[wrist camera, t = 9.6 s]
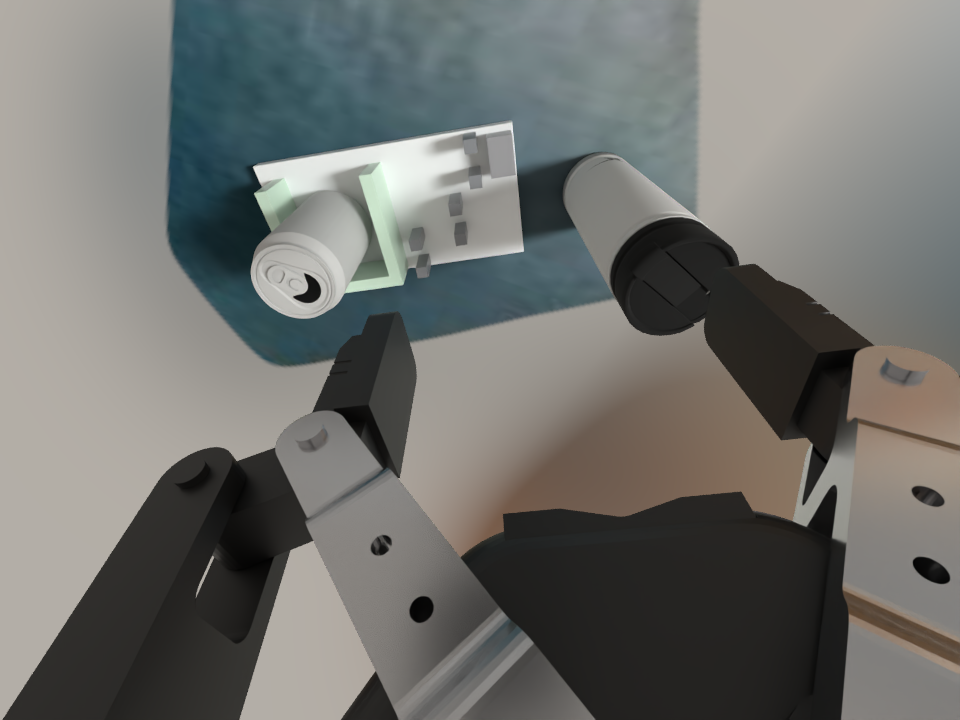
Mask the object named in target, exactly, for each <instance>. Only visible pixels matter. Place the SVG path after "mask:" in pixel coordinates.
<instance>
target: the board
mask: <svg viewBox="0 0 960 720" xmlns="http://www.w3.org/2000/svg"><path fill="white" fill-rule="evenodd" d="M377 162H381V165H382V169H383V173H384V176H385V180H386V184H387V187H388V191H389V195H390V198H391V202H392V206H393V210H394V213H395V217H396V221H397V224H398V228H399V232H400V235H401V239H402V243H403V246H404V250H405V254H406V257H407V261H408V265H409V267H408V268H414V267H416V272H417V276H418V278H424V277H429V273H430V268H431V265H435V264H442V263H449V262H455V261H462V260H469V259H476V258H483V257H490V256H497V255H503V254H510V253H517V252H524V248H523V237H522V226H521V215H520V204H519V193H518V181H517V170H516V159H515V148H514V137H513V126H512V121H511V120H509V121H503V122H497V123H491V124H485V125H479V126H474V127H468V128H462V129H456V130H450V131H444V132H439V133H433V134H427V135H421V136H415V137H410V138H404V139H398V140H392V141H386V142H380V143H375V144H369V145H363V146H357V147H351V148H345V149H340V150H334V151H328V152H322V153H316V154H310V155H305V156H299V157H293V158H287V159H281V160H275V161H270V162H264V163H258V164H257V165H255V166H253V168H254V171H255V173H256V175H257V177H258V180H259V182H260V184H261V186H262V187H264V186H265V185H267V184H268V183H269V182H271V181H272V180H275V179H281V178H285V181H286V183H287V185H288V188H289V190H290V193H291V195H292V198H293V200H294V203H295V205H296V207H297V208H298V207H299V206H300V205H301V204H302V203H304V202H305V201H306V200H307V199H308V198H309V197H310V196H312V195H313V194H315V193H318V192H321V191H336V192H340V193H343V194H346V195H348V196H350V197H351V198H353V199H354V200H356V201H357V202H358V203H359V204H360V205H361V206H362V207H363V209H364V210H365V211H366V213H367V215H368V217H369V219H370V222H371V226H372V239H371V242H370V245H369V247H368V249H367V251H366V253H365V255H364V257H363V258H362V260H361V262H360V263H364V262H371V261H378V260H384V257H383V254H382V250H381V247H380V244H379V241H378V237H377V234H376V231H375V228H374V224H373V221H372V218H371V215H370V211H369V208H368V205H367V202H366V198H365V195H364V192H363V189H362V185H361V182H360V179H359V175H360V174H361V173H362V171H363V170H364V169H365V168H366V167H367V166H368V164H371V163H377Z"/></svg>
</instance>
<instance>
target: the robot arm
mask: <svg viewBox="0 0 960 720" xmlns="http://www.w3.org/2000/svg"><path fill="white" fill-rule="evenodd" d="M704 333H705V338H706V341H707V343H708V345H709V346H710V348H711V349H712V350H713V352H714V353H715V355H716V356H717V357H718V359H719V360H720V361H721V362H722V364H723V365H724V366H725V367H726V369H727V370H728V372H729V373H730V374H731V375H732V377H733V378H734V379H735V381H736V382H737V383H738V385H739V386H740V387H741V389H742V390H743V391H744V392H745V394H746V395H747V396H748V398H749V399H750V400H751V402H752V403H753V404H754V405H755V407H756V408H757V409H758V411H759V412H760V413H761V415H762V416H763V417H764V418H765V420H766V421H767V422H768V424H769V425H770V426H771V427H772V429H773V430H774V432H775V433H776V434H777V435H778V437H779V438H780V439H781V440H788V439H798V438H808V439H809V441H810V442H811V445H810V447H809V449H808V451H807V454H806V458H805V463H804V468H803V474H802V478H801V483H800V489H799V494H798V499H797V504H796V509H795V514H794V518H793V521H791V520H788V519H785V518H781V517H778V516H775V515H771V514H767V513H762V512H758V511H752V509H751V507H750V506H749V504H748V502H747V501H746V499H745V497H744V496H743V494H742V492H732V493H721V494H711V495H700V496H690V497H681V498H678V499H675V500H672V501H669V502H666V503H663V504H661V505H658V506H655V507H652V508H649V509H647V510H644V511H641V512H638V513H635V514H632V515H630V516H625V517H616V516H609V515H602V514H595V513H588V512H580V511H573V510H566V509H551V510H540V511H530V512H520V513H508V514H503V519H504V532H501V533H499V534H496V535H494V536H492V537H490V538H488V539H486V540H484V541H482V542H480V543H479V544H477V545H476V546H474V547H473V548H471V549H470V550H469V551H467V552H466V553H465V554H464V555H463V556H461V557H459V556H458V554H457V553H456V552H455V551H454V549H453V548H452V546H451V545H450V544H449V543H448V541H447V540H446V539H445V538H444V536H443V535H442V534H441V532H440V531H439V530H438V529H437V527H436V526H435V525H434V524H433V522H432V521H431V520H430V519H429V517H428V516H427V515H426V514H425V512H424V511H423V510H422V509H421V507H420V506H419V505H418V503H417V502H416V501H415V500H414V498H413V497H412V496H411V494H410V493H409V492H408V491H407V489H406V488H405V487H404V486H403V484H402V483H401V482H400V480H399V479H398V478H400V473H401V468H402V462H403V456H404V450H405V444H406V438H407V432H408V427H409V421H410V415H411V409H412V403H413V396H414V391H415V385H416V364H415V360H414V356H413V353H412V349H411V346H410V343H409V339H408V336H407V333H406V330H405V326H404V323H403V320H402V317H401V315H400V313H399V312H398V311H396V312H388V313H381V314H374V315H369V317H368V319H367V322H366V324H365V327H364V329H363V332H362V335H357V336H352V337H351V338H350V339H349V340H348V341H347V342H346V343H345V344H344V345H343V346H342V347H341V348H340V350H339V352H338V354H337V357H336V359H335V361H334V363H335V364H334V365H333V366H332V369H331V370H330V376H328V377H327V380H326V382H325V384H324V387H323V389H322V391H321V394H320V396H319V398H318V400H317V403H316V405H315V407H314V410H313V412H312V413H310V414H308V415H305V416H303V417H301V418H300V419H298V420H296V421H294V422H293V423H292V424H290V425H289V426H288V427H287V428H286V429H285V430H284V431H283V432H282V434H281V435H280V436H279V438H278V440H277V442H276V446H275V448H273V449H270V450H267V451H265V452H262V453H259V454H256V455H253V456H251V457H248V458H245V459H242V460H239V461H236V460H235V458H234V457H233V456H232V454H231V453H230V452H229V451H228V450H226V449H224V448H219V447H214V448H207V449H203V450H200V451H197V452H195V453H193V454H190V455H188V456H187V457H185V458H183V459H182V460H180V461H179V462H177V463H176V464H175V465H173V466H172V467H171V468H170V469H169V470H168V471H166V473H165V474H164V475H163V476H162V477H161V478H160V480H159V481H158V483H157V484H156V486H155V487H154V489H153V490H152V492H151V493H150V495H149V497H148V498H147V499H146V501H145V502H144V504H143V506H142V507H141V509H140V510H139V512H138V513H137V515H136V516H135V518H134V519H133V521H132V523H131V524H130V526H129V527H128V529H127V530H126V532H125V533H124V535H123V536H122V538H121V539H120V541H119V542H118V544H117V545H116V547H115V548H114V550H113V551H112V553H111V554H110V556H109V558H108V559H107V561H106V562H105V564H104V565H103V567H102V568H101V570H100V571H99V573H98V574H97V576H96V577H95V579H94V581H93V582H92V584H91V585H90V587H89V588H88V590H87V591H86V593H85V594H84V596H83V597H82V599H81V600H80V602H79V603H78V605H77V606H76V608H75V610H74V611H73V613H72V614H71V616H70V617H69V619H68V620H67V622H66V624H65V625H64V627H63V628H62V630H61V631H60V633H59V634H58V636H57V637H56V639H55V640H54V642H53V643H52V645H51V646H50V648H49V649H48V651H47V652H46V654H45V656H44V657H43V659H42V660H41V662H40V663H39V665H38V666H37V668H36V669H35V671H34V672H33V674H32V675H31V677H30V678H29V680H28V681H27V683H26V685H25V686H24V688H23V689H22V691H21V692H20V694H19V695H18V697H17V698H16V700H15V701H14V703H13V705H12V706H11V707H10V709H9V711H8V712H7V714H6V715H5V717H4V718H3V720H239V718H240V715H241V712H242V709H243V705H244V702H245V699H246V695H247V692H248V689H249V685H250V682H251V679H252V675H253V672H254V669H255V665H256V662H257V659H258V656H259V652H260V649H261V646H262V642H263V639H264V636H265V633H266V629H267V626H268V623H269V619H270V616H271V612H272V609H273V606H274V603H275V599H276V596H277V593H278V589H279V586H280V583H281V580H282V576H283V573H284V570H285V566H286V563H287V560H288V556H289V553H290V550H292V549H294V548H297V547H299V546H302V545H304V544H306V543H309V542H311V541H314V543H315V545H316V547H317V549H318V551H319V553H320V555H321V558H322V559H323V561H324V564H325V566H326V568H327V570H328V572H329V574H330V576H331V578H332V580H333V583H334V585H335V587H336V589H337V591H338V593H339V595H340V597H341V599H342V601H343V603H344V605H345V608H346V610H347V612H348V614H349V616H350V618H351V620H352V622H353V624H354V626H355V628H356V630H357V633H358V635H359V637H360V639H361V641H362V643H363V645H364V647H365V649H366V652H367V654H368V655H369V658H370V660H371V662H372V664H373V666H374V668H375V670H376V671H375V673H374V674H373V676H372V677H371V678H370V680H369V681H368V683H367V684H366V685H365V687H364V688H363V690H362V691H361V693H360V694H359V695H358V697H357V698H356V699H355V701H354V702H353V704H352V705H351V706H350V708H349V709H348V711H347V712H346V713H345V715H344V716H343V718H342V719H341V720H960V376H959V375H958V374H957V372H956V371H955V370H954V369H953V368H952V367H951V366H949V365H948V364H947V363H945V362H943V361H942V360H940V359H938V358H936V357H934V356H932V355H929V354H926V353H924V352H921V351H917V350H914V349H910V348H905V347H899V346H890V345H878V346H874V345H873V344H872V343H870V342H869V341H868V340H867V339H865V338H864V337H862V336H861V335H860V334H858V333H857V332H856V331H855V330H853V329H852V328H851V327H849V326H848V325H847V324H846V323H844V322H843V321H841V320H840V319H839V318H838V317H836V316H835V315H834V314H831V315H830V312H829V311H828V310H827V309H826V308H825V307H823V306H822V305H821V304H817V302H816V301H815V300H814V299H813V298H811V297H810V296H809V295H808V294H806V293H805V292H803V291H802V290H801V289H798V288H796V287H793V286H791V285H788V284H786V283H783V282H781V281H777V280H775V279H774V278H773V277H772V276H770V275H769V274H768V273H767V272H765V271H764V270H763V269H762V268H760V267H759V266H758V265H756V264H748V265H741V266H733V267H726V268H720V269H719V270H718V271H717V272H716V274H715V276H714V279H713V284H712V289H711V294H710V298H709V303H708V308H707V313H706V317H705V323H704ZM212 555H213V556H214V559H213V562H212V564H211V566H210V568H209V570H208V573H207V575H206V577H205V580H204V582H203V584H202V586H201V588H200V591H199V593H198V595H197V597H196V592H197V589H198V586H199V583H200V581H201V579H202V577H203V575H204V572H205V570H206V568H207V566H208V563H209V561H210V559H211V557H212Z"/></svg>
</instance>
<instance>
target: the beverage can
mask: <svg viewBox="0 0 960 720" xmlns="http://www.w3.org/2000/svg"><path fill="white" fill-rule="evenodd" d="M371 239H372V226H371V222H370V219H369V217H368V215H367V213H366V211H365V210H364V209H363V207H362V206H361V205H360V204H359V203H358V202H357V201H356V200H354V199H353V198H351V197H350V196H348V195H346V194H343V193H340V192H336V191H321V192H318V193H315V194H313V195H312V196H310V197H309V198H308V199H307V200H306V201H305V202H304V203H302V204H301V205H300V206H299V207H298V208H297V209H296V210H295V211H294V212H293V213H292V214H291V215H289V216H288V217H287V218H286V219H285V220H284V221H283V222H282V223H281V224H280V225H279V226H278V227H277V228H275V229H274V230H273V231H272V232H271V233H270V234H269V235H268V236H267V237H266V238H265V239H264V240H263V241H261V243H260V244H259V245H258V246H257V248H256V250H255V252H254V256H253V262H252V266H251V278H252V282H253V285H254V287H255V289H256V291H257V293H258V294H259V296H260V297H261V298H262V299H263V300H264V301H265V302H266V303H267V304H268V305H269V306H270V307H272V308H273V309H275V310H276V311H278V312H280V313H282V314H284V315H287V316H290V317H294V318H301V319H306V318H313V317H317V316H319V315H321V314H323V313H325V312H326V311H327V310H330V309H332V308H333V307H334V306H336V305H337V304H338V303H339V301H340V300H341V298H342V296H343V295H344V293H345V291H346V289H347V287H348V285H349V283H350V281H351V279H352V277H353V276H354V274H355V272H356V270H357V268H358V266H359V264H360V262H361V260H362V258H363V257H364V255H365V253H366V251H367V249H368V247H369V245H370V242H371Z"/></svg>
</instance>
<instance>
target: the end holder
mask: <svg viewBox="0 0 960 720" xmlns="http://www.w3.org/2000/svg"><path fill="white" fill-rule="evenodd" d="M359 179H360V182H361V185H362V189H363V192H364V195H365V198H366V202H367V205H368V208H369V211H370V215H371V218H372V221H373V224H374V228H375V231H376V234H377V237H378V241H379V244H380V247H381V250H382V254H383V257H384V260H378V261H371V262H364V263H360V264H359V266H358V268H357V270H356V272H355V274H354V276H353V277H352V279H351V281H350V283H349V285H348V287H347V289H346V291H345V293H349V292H356V291H363V290H370V289H377V288H384V287H391V286H398V285H403V284H404V281H405V277H406V274H407V270H408V267H409V265H408V261H407V257H406V254H405V250H404V246H403V243H402V239H401V235H400V232H399V228H398V224H397V221H396V217H395V213H394V210H393V206H392V202H391V198H390V195H389V191H388V187H387V184H386V180H385V176H384V173H383V169H382V165H381V162H377V163H371V164H368V166H367V167H366V168H365V169H364V170H363V171H362V173H361V174H360V175H359ZM254 195H255V197H256V199H257V201H258V203H259V205H260V208H261V210H262V212H263V214H264V216H265V218H266V221H267V223H268V225H269V227H270V229H271V231H273V230H274V229H275V228H277V227H278V226H279V225H280V224H281V223H282V222H283V221H284V220H285V219H286V218H287V217H288V216H289V215H291V214H292V213H293V212H294V211H295V210H296V209H297V207H296V205H295V203H294V200H293V198H292V195H291V193H290V190H289V188H288V185H287V183H286V181H285V178H281V179H275V180H272V181H271V182H269V183H268V184H267V185H265V186H264V187H262V188H261V189H259V190H258V191H256V192H255V193H254Z"/></svg>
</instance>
